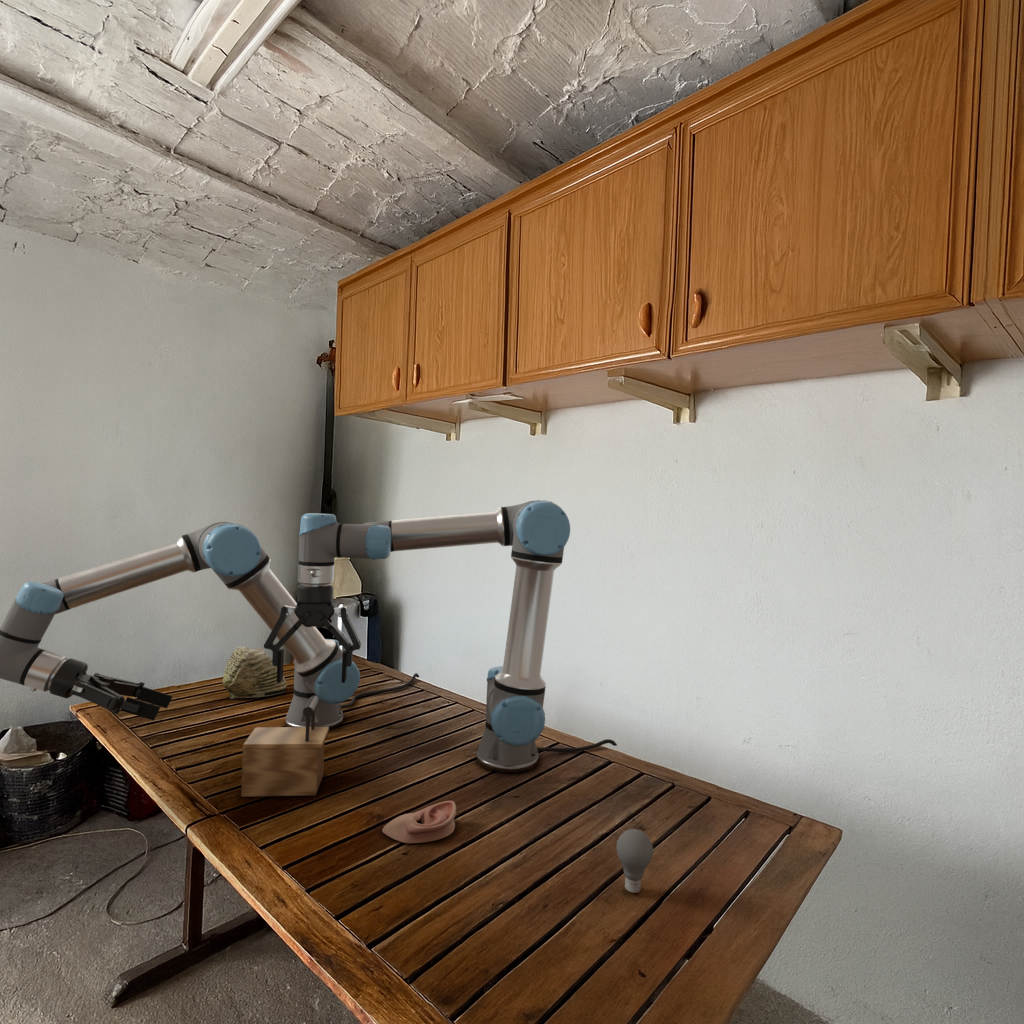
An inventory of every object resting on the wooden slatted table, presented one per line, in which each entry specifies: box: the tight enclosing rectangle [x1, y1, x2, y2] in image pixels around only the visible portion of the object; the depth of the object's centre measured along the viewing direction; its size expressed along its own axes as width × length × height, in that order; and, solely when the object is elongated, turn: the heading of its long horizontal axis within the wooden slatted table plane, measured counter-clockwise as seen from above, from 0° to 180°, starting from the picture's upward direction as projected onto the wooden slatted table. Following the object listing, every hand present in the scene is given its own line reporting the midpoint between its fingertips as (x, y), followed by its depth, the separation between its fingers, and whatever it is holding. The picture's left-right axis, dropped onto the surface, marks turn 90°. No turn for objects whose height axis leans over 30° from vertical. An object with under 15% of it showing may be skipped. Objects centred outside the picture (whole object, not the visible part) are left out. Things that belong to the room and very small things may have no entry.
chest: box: [240, 740, 326, 798], centre depth 138 cm, size 15×10×10 cm, turn 98°
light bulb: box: [615, 828, 654, 894], centre depth 106 cm, size 6×6×10 cm
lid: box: [242, 696, 330, 749], centre depth 138 cm, size 16×10×8 cm, turn 98°
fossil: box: [222, 646, 288, 699], centre depth 198 cm, size 9×18×15 cm, turn 132°
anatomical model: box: [381, 800, 457, 844], centre depth 122 cm, size 13×4×12 cm
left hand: (163, 707), depth 136 cm, fingers open, 13 cm apart
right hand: (312, 681), depth 138 cm, fingers open, 13 cm apart
